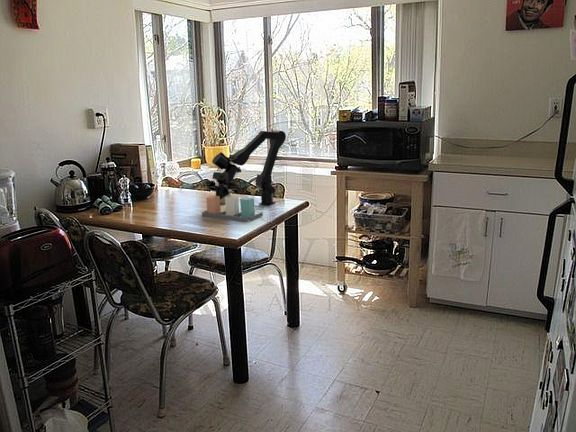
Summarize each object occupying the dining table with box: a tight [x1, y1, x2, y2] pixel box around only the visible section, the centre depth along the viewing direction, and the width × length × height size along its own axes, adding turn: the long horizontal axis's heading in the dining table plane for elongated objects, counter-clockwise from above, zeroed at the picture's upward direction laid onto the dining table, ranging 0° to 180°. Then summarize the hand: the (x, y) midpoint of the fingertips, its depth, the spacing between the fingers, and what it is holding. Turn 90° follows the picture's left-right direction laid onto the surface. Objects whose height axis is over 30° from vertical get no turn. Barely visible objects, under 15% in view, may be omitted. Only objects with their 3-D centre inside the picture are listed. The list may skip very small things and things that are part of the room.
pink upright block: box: [205, 194, 222, 214], centre depth 240 cm, size 4×5×9 cm
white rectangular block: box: [224, 195, 240, 216], centre depth 238 cm, size 4×5×9 cm
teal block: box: [239, 196, 256, 220], centre depth 234 cm, size 4×5×9 cm
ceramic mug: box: [220, 193, 232, 204], centre depth 268 cm, size 11×8×8 cm
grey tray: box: [201, 209, 264, 223], centre depth 239 cm, size 14×30×3 cm, turn 59°
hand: (216, 201), depth 242 cm, fingers closed, pressing on pink upright block
